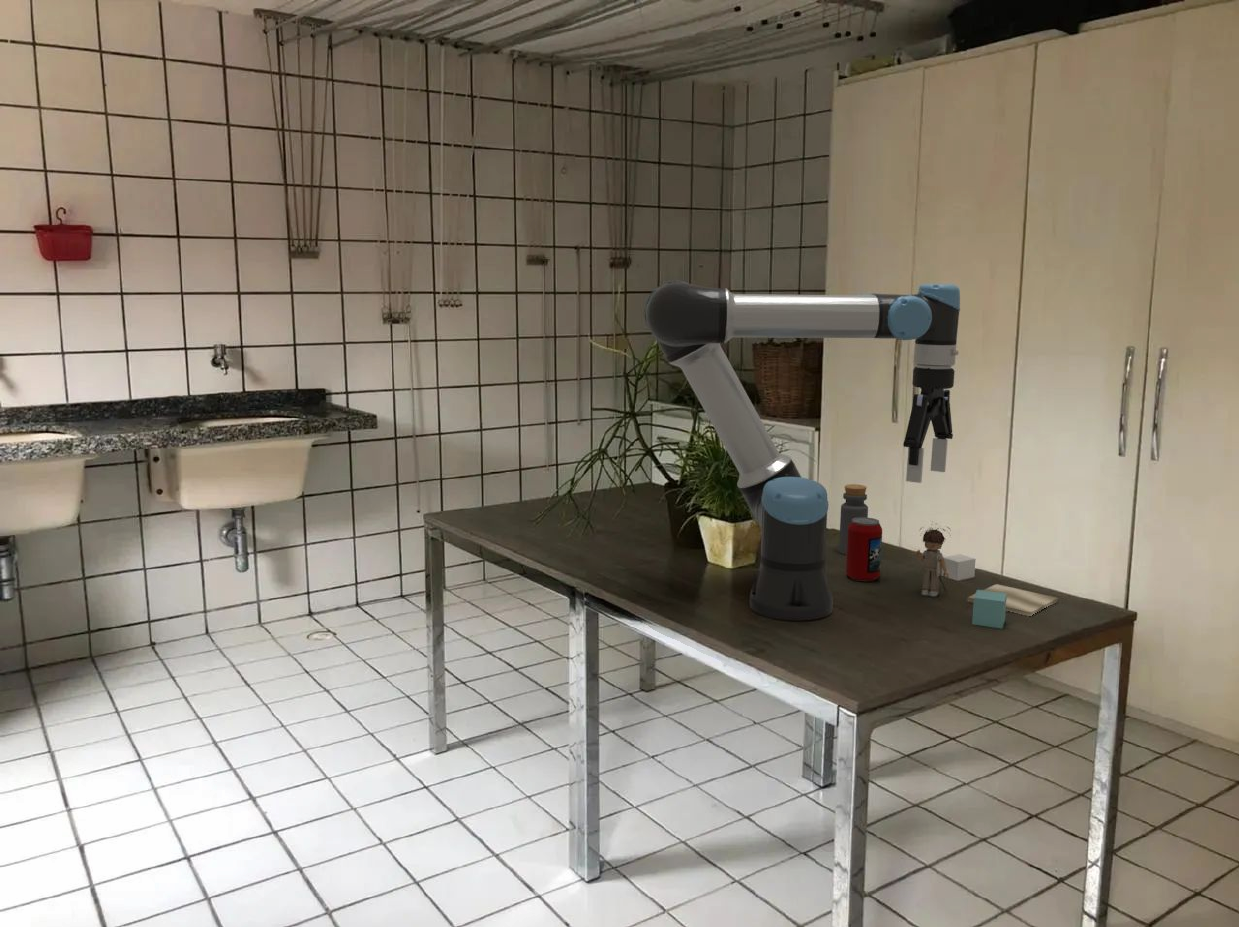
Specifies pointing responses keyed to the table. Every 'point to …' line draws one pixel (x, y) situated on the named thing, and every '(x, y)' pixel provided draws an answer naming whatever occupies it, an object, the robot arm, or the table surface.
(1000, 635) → the table surface
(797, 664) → the table surface
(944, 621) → the table surface
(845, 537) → the bottle
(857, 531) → the beverage can
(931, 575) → the toy
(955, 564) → the white block
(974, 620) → the teal block
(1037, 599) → the board
